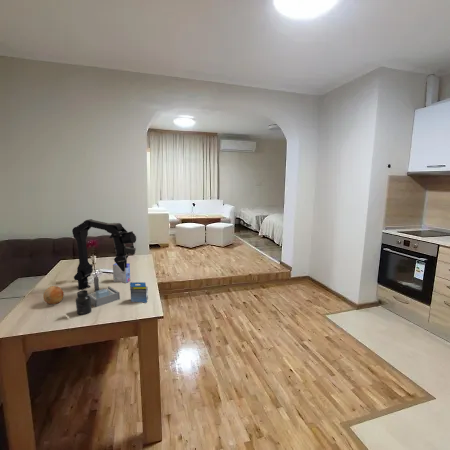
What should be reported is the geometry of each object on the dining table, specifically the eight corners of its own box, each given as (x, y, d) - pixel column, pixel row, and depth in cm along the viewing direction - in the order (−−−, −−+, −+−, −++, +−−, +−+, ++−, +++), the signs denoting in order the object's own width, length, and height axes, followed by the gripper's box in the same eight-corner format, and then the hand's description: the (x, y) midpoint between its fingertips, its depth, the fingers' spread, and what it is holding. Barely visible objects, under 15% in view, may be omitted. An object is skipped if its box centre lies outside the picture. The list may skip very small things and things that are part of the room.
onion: (40, 308, 150) (38, 290, 148) (48, 300, 160) (46, 283, 158) (60, 306, 152) (58, 289, 150) (67, 299, 161) (65, 282, 160)
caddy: (86, 298, 161) (85, 279, 159) (105, 293, 169) (104, 274, 167) (97, 306, 152) (95, 286, 149) (116, 300, 160) (115, 280, 158)
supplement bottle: (80, 310, 148) (78, 289, 146) (93, 310, 148) (92, 288, 146) (74, 317, 141) (72, 294, 139) (88, 316, 142) (86, 294, 140)
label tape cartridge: (148, 300, 161) (147, 279, 159) (146, 303, 157) (145, 282, 155) (132, 300, 161) (131, 279, 158) (130, 303, 157) (129, 282, 155)
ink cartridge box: (131, 280, 190) (129, 259, 188) (126, 283, 185) (125, 262, 182) (117, 279, 192) (116, 259, 190) (113, 282, 187) (111, 261, 184)
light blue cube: (96, 299, 159) (95, 291, 158) (105, 296, 163) (104, 288, 162) (100, 302, 156) (99, 293, 155) (109, 299, 159) (108, 291, 158)
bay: (86, 301, 158) (85, 293, 158) (109, 294, 168) (109, 286, 167) (95, 308, 150) (95, 300, 149) (119, 300, 160) (119, 292, 159)
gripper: (131, 244, 159) (137, 270, 161) (134, 239, 177) (139, 263, 179) (111, 248, 157) (117, 274, 159) (116, 243, 175) (121, 266, 177)
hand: (124, 269), depth 168 cm, fingers open, 9 cm apart
